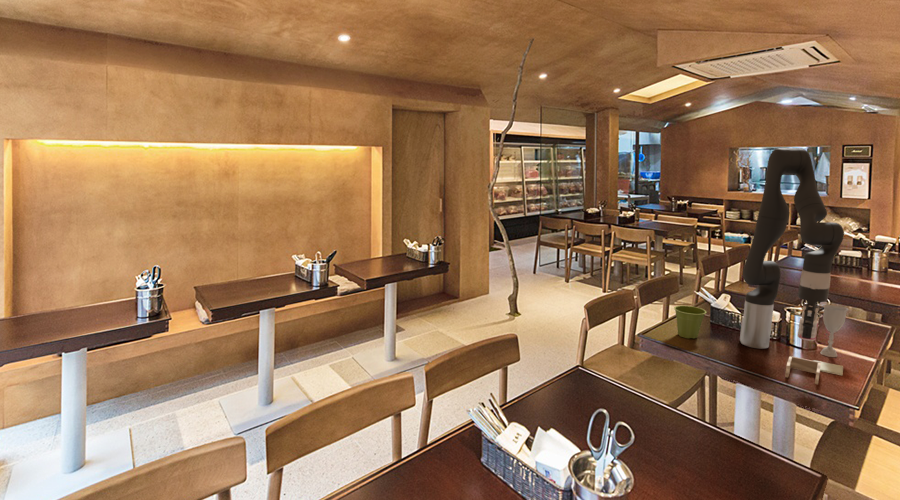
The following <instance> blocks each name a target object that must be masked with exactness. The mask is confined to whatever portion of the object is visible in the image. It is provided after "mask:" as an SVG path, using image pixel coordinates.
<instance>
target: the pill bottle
mask: <svg viewBox="0 0 900 500" xmlns="http://www.w3.org/2000/svg"><path fill="white" fill-rule="evenodd" d="M814 315H815V314H814ZM802 317H803V312H802V313H801V317H800V318H799V324H798V328H797V329H798V330H797V337H798V338H799V339H801V340H804V341H809V342H812V341H816V340H817V333H818V326H819V320H818V318H819V315H818V313H817V316H816V321H814V322H813V328H812V333H811V338H810V339H807V338H803V337H802V334H803V327H804V326H803V321H804V319H803V318H802ZM806 323H811V321H806Z"/></svg>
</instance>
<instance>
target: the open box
mask: <svg viewBox="0 0 900 500" xmlns="http://www.w3.org/2000/svg"><path fill="white" fill-rule="evenodd" d="M817 361H818V360H815V361H814V360H813V359H812V360H810V359H806V358H803V357H798V356H793V355H789V357H788V360H787V362H786V368H785V374H784V377H785V378H789V375H790V373H791V369H794V370H798V371H802V372H806V373H807V372H808V373H811V374H815V379H814V384H815V385H819V382H820V381H819V379H820V374H821V371H820V367H821V362H822V361H820V362H817Z"/></svg>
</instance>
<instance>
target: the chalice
mask: <svg viewBox="0 0 900 500" xmlns="http://www.w3.org/2000/svg"><path fill="white" fill-rule="evenodd" d="M822 307H823V314H822V316H823V317H822V320H823V323H824V327H825V329H826V330H827V331H828V332H829V336H828V338H829V339H828V340H827V343H828V345H827V346H825V347H823V348H822V349H821V351H820V352H819V353H820V354H821V355H823V356H825V357H829V358H838V354H837V350H836V349H835V348H834V347H833V344H835V343H834V338H835V337H834V334H835V333H837V332H839V330H840V329H841V328H842V327H843V326H844V324H845V322H846V315H847V312H848V311H849V310H850V309H849V308H848V307H845V306H841V305H836V304H823V305H822Z"/></svg>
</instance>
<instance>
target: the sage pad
mask: <svg viewBox="0 0 900 500" xmlns="http://www.w3.org/2000/svg"><path fill="white" fill-rule="evenodd" d="M813 361H817V362H821V367H820V372H823V373H828V374H832V375H833V374H834V375H838V376H842V377H843V372H844V366H843V365H839V364H834V363H831V362H830V363H829V362H825V361H820V360H815V359H813Z"/></svg>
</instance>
